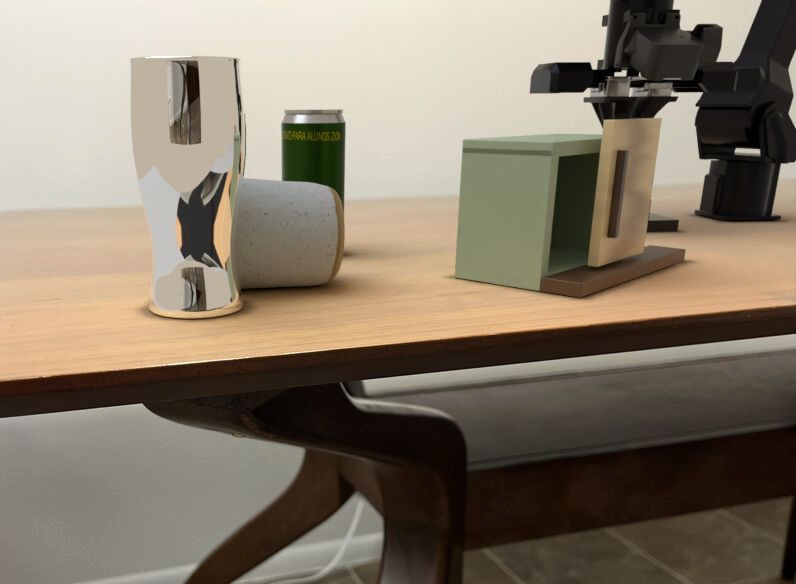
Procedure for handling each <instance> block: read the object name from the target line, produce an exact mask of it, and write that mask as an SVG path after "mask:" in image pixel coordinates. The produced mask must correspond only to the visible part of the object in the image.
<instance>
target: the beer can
mask: <svg viewBox="0 0 796 584" xmlns="http://www.w3.org/2000/svg"><path fill="white" fill-rule="evenodd" d="M343 113H344V109H284V110H283V114H284V116H283V118H282V120H281V125H280V127H281V128H280V129H281V134H280V135H281V136H280V137H281V181H293V182H310V183H316V184H320V185H325V186H328V187H331V188H333V189H334V190H335V191H336V192H337V194H338V195H339V197H340V199H341V202H342V207H343V212H344V213H345V192H346V191H345V189H346V188H345V187H346V186H345V185H346V182H345V181H346V131H347V130H346V129H347V127H346V125H347V124H346V123H347V122H346V120H345V118H344V116H343Z"/></svg>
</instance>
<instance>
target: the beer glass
mask: <svg viewBox="0 0 796 584" xmlns="http://www.w3.org/2000/svg"><path fill="white" fill-rule="evenodd" d="M128 61H129V134H130V144H131V155H132V160H133V161H132V162H133V166H134V171H135V172H134V173H135V177H136V183H137V186H138V190H139V195H140V199H141V204H142V208H143V212H144V217H145V221H146V225H147V231H148V234H149V239H150V240H149V241H150V248H151V249H150V250H151V277H150V278H151V279H150V286H149V288H150V289H149V294H148V309H149V311H150V312H151V313H153V314H155V315H158V316H161V317H166V318H171V319H172V318H173V319H207V318H208V319H209V318H210V319H211V318H217V317H223V316H227V315H230V314H234V313H237V312H239V311H240V310H241V309H242V308H243V306H244V298H243V293H242V289H241V287H240V282H239V278H238V273H237V266H236V253H235V248H236V231H237V223H238V216H239V209H240V202H241V195H242V188H243V181H244V178H245V170H246V161H247V159H246V158H247V122H246V121H247V120H246V118H247V117H246V105H245V103H246V102H245V93H244V92H245V91H244V84H243V75H242V74H243V73H242V60H241V58H239V57H234V56H233V57H232V56H213V55H162V56H161V55H158V56H157V55H156V56H140V57H138V56H137V57H132V58H129V59H128Z"/></svg>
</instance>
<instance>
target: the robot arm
mask: <svg viewBox="0 0 796 584" xmlns="http://www.w3.org/2000/svg"><path fill="white" fill-rule="evenodd" d="M674 4H675V0H609V7H608V14H604V15H602V19H601V27H602V28H604V27H605V28H606V36H605V44H604V52H603V59H597V63H596V64H597V65H596V69H595V68H593V67H592V63H591V62H590V61H564V62H563V61H559V62H549V63H547V62H546V63H539V64H538V65H537V66H536V67H535V68H534V69H533V71H532V73H531V76H530V82H529V83H530V84H529V94H530V95H533V94H539V95H540V94H544V95H545V94H577V93H578V94H582V93H583V94H584V93H585V91H587V90H588V89H589V92H590V93H589V96H584V97H583V103H584V104H585V103H587V104H588V103H590V104H591V106H592V108H593V111H594V113H595V115H596V117H597V119H598V121H599V124H600V127H601V128H602V130H603V123H604V120H615V119H640V118H656V115H657V114H658V113H659V112H660V111H662V109H663V108H664V107H666V105H667V104H669V103H675V102H677V101H678V99H679V95H678V96H674V95H672V92H673V93H675V94H676V93H677V94H679V93H680V94H681V93H683V94H684V93H701V96H700V98H699V99H698V100H697V102H696V103H695V107H696V108H698V109H697V111H696V114H695V118H694V127H695V134H696V143H697V151H698V158H699V160H704V161H705V160H706V161H707V160H710V163H709V170H708V173H706V174H705V175H704V177H703V178H704V179H703V186H702V190H701V191H702V192H701V198H700V204H699V209H694V213H693V214H695V215H699V216H703V217H708V218H712V219H715V220H716V219H717V220H721V221H726V222H727V221H734V222H735V221H737V222H738V221H778V220H779V221H780V220H782V215H781V214H776V213H773V211H774V205H775V200H776V194H777V189H778V183H779V178H780V173H781V172H780V171H781V167H782V164H783V165H784V164H791V163H792V164H793V163H796V126H795V124H794V122H793V120H792V117H791V116H790V114H789V113H790V110H791V106H792V104H793V100H794V95H795V94H794V89H793V84H792V80H791V75H790V71H789V69H790V66H791V63H792V60H793V58H794V55H795V53H796V0H760V3H759V6H758V8H757V10H756V13H755V15H754V18H753V21H752V23H751V25H750V28H749V30H748V33H747V35H746V37H745V40H744V43H743V45H742V48H741V50H740V52H739V55H738V57H737V58H736V60H735V61H718V59H719V56H720V53H721V50H722V46H723V45H722V43H723V35H724V27H723V26H721V25H719V24H718V23H697V24H696V25H695V26H694V27H693V29H692V30H684V29H682V28H681V19H682V16H681V9H674V6H675V5H674ZM622 71H623V72H624V71H626V73H625V75H623V76H622V75H620V76H619V75H616V76H615V74H616V73H623V72H622ZM630 91H631V93H630ZM737 149H744V150H759V153H754V152H738V151H737V152H736V150H737Z"/></svg>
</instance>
